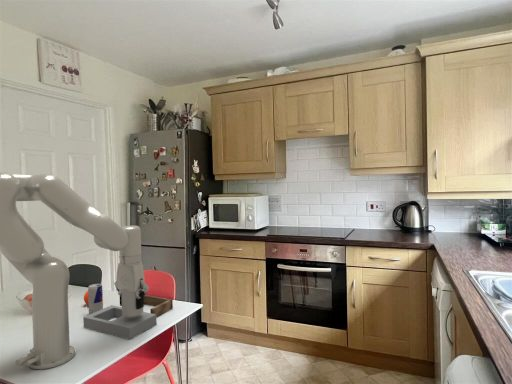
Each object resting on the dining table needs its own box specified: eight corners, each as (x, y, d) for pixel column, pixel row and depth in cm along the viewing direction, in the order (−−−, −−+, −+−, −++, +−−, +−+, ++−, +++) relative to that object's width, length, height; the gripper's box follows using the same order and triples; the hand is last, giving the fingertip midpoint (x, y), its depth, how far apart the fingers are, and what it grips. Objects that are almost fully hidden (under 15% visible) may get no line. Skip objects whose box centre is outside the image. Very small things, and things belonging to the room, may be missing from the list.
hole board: (130, 339, 114) (129, 328, 114) (83, 327, 124) (83, 317, 124) (156, 324, 126) (156, 314, 126) (111, 314, 136) (111, 305, 136)
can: (138, 318, 118) (138, 286, 118) (118, 319, 119) (117, 286, 118) (146, 310, 126) (145, 279, 126) (127, 310, 126) (126, 280, 126)
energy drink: (105, 313, 137) (104, 285, 137) (91, 317, 134) (90, 288, 133) (100, 310, 141) (99, 282, 141) (86, 314, 137) (85, 285, 137)
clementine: (84, 302, 151) (84, 287, 150) (101, 300, 153) (100, 285, 153) (83, 308, 143) (82, 292, 143) (101, 305, 146) (100, 290, 146)
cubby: (152, 319, 131) (152, 309, 131) (122, 312, 138) (122, 303, 138) (172, 308, 142) (172, 299, 141) (144, 303, 149) (143, 294, 148)
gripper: (105, 259, 122) (106, 306, 122) (140, 263, 114) (141, 313, 115) (121, 255, 128) (122, 299, 129) (155, 259, 121) (156, 306, 121)
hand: (131, 306), depth 122 cm, fingers closed on can, 7 cm apart
